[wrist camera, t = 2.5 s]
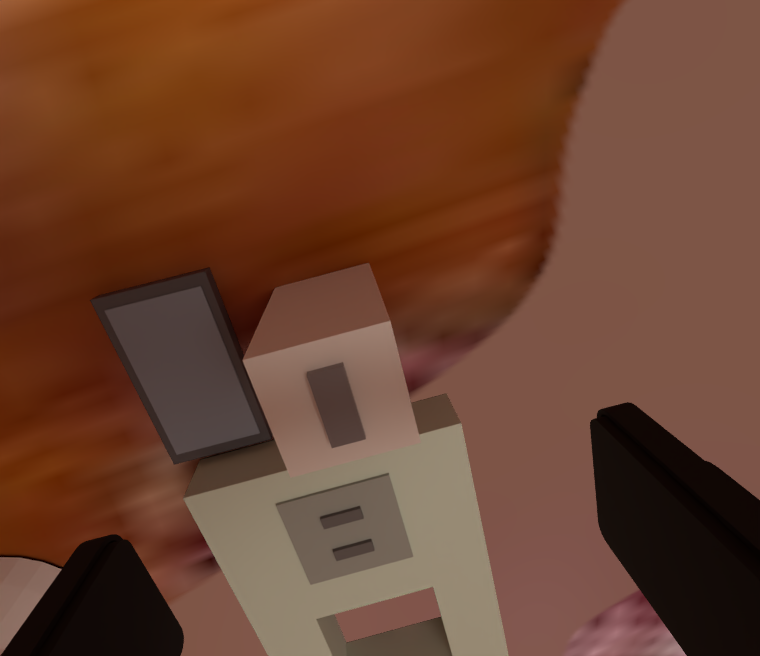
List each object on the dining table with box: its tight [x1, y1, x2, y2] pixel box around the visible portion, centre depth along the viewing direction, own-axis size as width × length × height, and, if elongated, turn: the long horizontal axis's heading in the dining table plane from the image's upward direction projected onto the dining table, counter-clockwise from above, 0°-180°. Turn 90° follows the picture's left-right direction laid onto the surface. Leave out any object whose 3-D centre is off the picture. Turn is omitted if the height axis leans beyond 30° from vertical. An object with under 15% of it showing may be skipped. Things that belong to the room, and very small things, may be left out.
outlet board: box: [183, 394, 509, 656], centre depth 22 cm, size 16×12×3 cm
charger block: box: [242, 263, 421, 478], centre depth 15 cm, size 4×4×7 cm
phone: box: [90, 268, 272, 464], centre depth 19 cm, size 8×4×1 cm, turn 13°
